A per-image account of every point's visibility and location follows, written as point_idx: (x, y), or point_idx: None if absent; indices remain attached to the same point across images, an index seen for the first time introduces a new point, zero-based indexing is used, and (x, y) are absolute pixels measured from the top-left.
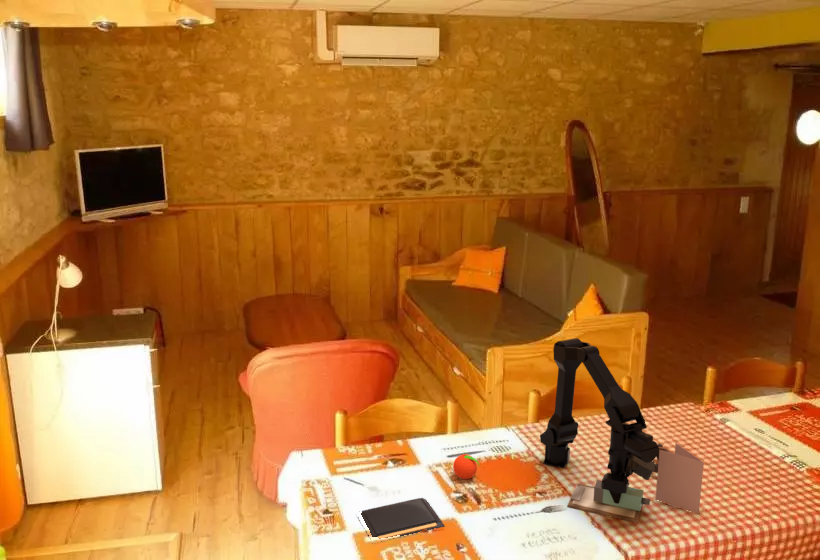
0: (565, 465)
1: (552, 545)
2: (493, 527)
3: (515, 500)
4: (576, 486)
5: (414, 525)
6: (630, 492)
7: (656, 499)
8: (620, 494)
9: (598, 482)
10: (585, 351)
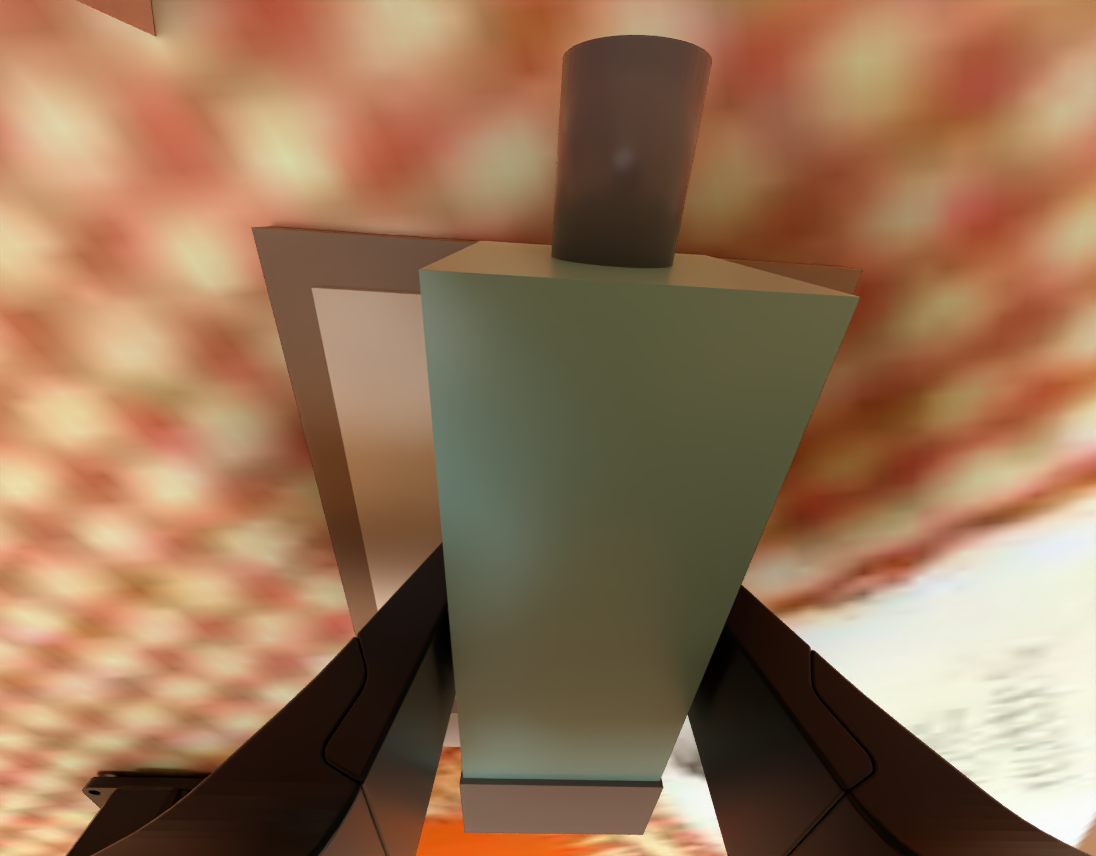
0: (195, 780)
1: (1085, 715)
2: None
3: (665, 840)
4: (448, 746)
5: None
6: (659, 530)
7: (137, 7)
8: (827, 669)
9: (515, 822)
10: None
